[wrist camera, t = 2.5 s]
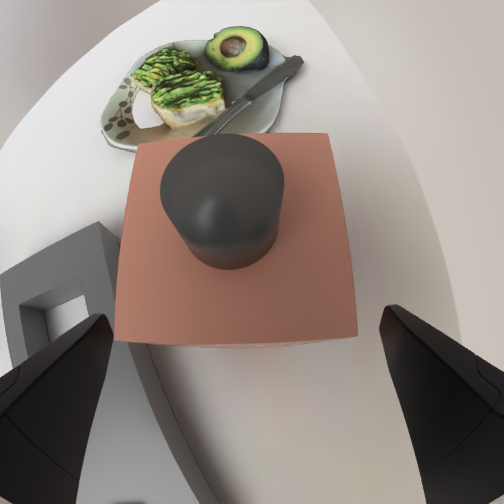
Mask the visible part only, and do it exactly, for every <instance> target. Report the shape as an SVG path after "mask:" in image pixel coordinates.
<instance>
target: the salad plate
mask: <svg viewBox="0 0 504 504" xmlns="http://www.w3.org/2000/svg"><path fill="white" fill-rule="evenodd" d="M303 63H304V61H303V60H302V58H301V56H295V55H294V56H292V57H285V56H283V55H282V54H281V53H280V52H279V51H278V50H276V49H275V48H273V47H271V46H268V43H267V40H266V39H265V38H264V36H263V35H262V34H261V33H260V32H259V31H257V30H255V29H252V28H250V27H243V26H236V27H228V28H224V29H223V30H221V31H220V32H218V33H215V34H214V39H211V40H185V41H177V42H172V43H168V44H165V45H163V46H160V47H158V48H156V49H154V50H152V51H150V52H149V53H146V54H145V55H144V56H143V57H141V58H140V59H139V60H138V61H137V62H136V63H135V64H134V66H133V67H132V68H131V70H130V71H129V72H128V74H127V76H126V77H125V78H124V80H123V82H122V83H121V85H120V86H119V87H118V89H117V91H116V92H115V94H114V95H113V96H112V97H111V100H110V101H109V103H108V105H107V106H106V108H105V110H104V112H103V114H102V116H101V121H100V123H101V132H102V133H103V135H104V137H105V139H106V141H107V143H108V144H109V145H110V146H111V147H115V148H118V149H123V150H126V151H130V152H137V148H138V144H142V143H149V142H157V141H164V140H173V139H182V138H192V137H203V136H210V135H214V134H225V133H230V134H253V133H267V131H268V129H269V128H270V127H271V126H272V125H273V123H274V121H275V119H276V117H277V115H278V112H279V109H280V103H281V97H282V93H283V85H284V82H285V81H286V80H287V79H288V78H289V77H291V76H292V75H293V74H294V73H295V72H296V71H298V69H299V68H300V67H301V66H302V64H303ZM141 89H142V90H144V91H145V92H147V93H149V94H151V105H152V108H153V109H154V110H155V111H156V113H157V114H158V115H159V116H160V117H161V119H162V120H163V122H164V123H163V124H162V125H160V126H155V127H152V128H144V129H140V128H139V127H138V126H137V125H136V123H135V122H134V119H133V115H132V107H133V103H134V100H135V98H136V96H137V94H138V92H139V91H140V90H141ZM234 100H237V101H236V102H235V103H234V104H233V105H232V104H230V103H231V102H232V101H234Z"/></svg>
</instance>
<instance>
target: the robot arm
mask: <svg viewBox="0 0 504 504" xmlns="http://www.w3.org/2000/svg"><path fill="white" fill-rule="evenodd" d="M379 331H380V336H381V339H382V343H383V348H384V352H385V356H386V360H387V365H388V368H389V372H390V375H391V378H392V381H393V384H394V387H395V390H396V393H397V396H398V399H399V402H400V405H401V408H402V411H403V414H404V418H405V421H406V424H407V428H408V431H409V434H410V438H411V441H412V445H413V449H414V452H415V456H416V460H417V464H418V468H419V472H420V476H421V478H422V479H421V481H422V485H423V489H424V494H425V499H426V503H427V504H504V372H503V371H501V370H499V369H498V368H496V367H495V366H493V365H491V364H490V363H488V362H487V361H485V360H483V359H482V358H481V357H479V356H477V355H475V353H473V352H471V351H470V350H468V349H467V348H465V347H464V346H462V345H461V344H459V343H458V342H456V341H455V340H453V339H452V338H450V337H448V336H447V335H445V334H444V333H442V332H441V331H439V330H437V329H436V328H434V327H433V326H431V325H430V324H428V323H426V322H425V321H423V320H422V319H420V318H418V317H417V316H415V315H414V314H412V313H410V312H409V311H407V310H406V309H404V308H402V307H401V306H399V305H397V304H394V305H387V306H385V308H384V311H383V314H382V318H381V322H380V326H379ZM113 340H114V334H113V331H112V328H111V326H110V323H109V320H108V318H107V316H106V315H105V314H101V313H94V314H92V315H91V316H89V317H88V318H86V319H85V320H83V321H82V322H80V323H79V324H77V325H76V326H74V327H73V328H71V329H70V330H68V331H67V332H65V333H64V334H62V335H61V336H60V337H58V338H57V339H55V340H54V341H52V342H51V343H49V344H48V345H46V346H45V347H43V348H42V349H41V350H39V351H38V352H36V353H35V354H33V355H32V356H31V357H29V358H28V359H26V360H25V361H23V362H22V363H21V365H18V366H16V367H15V368H14V369H12V370H11V371H9V372H8V373H6V374H5V375H3V376H2V377H0V504H76V500H77V494H78V488H79V481H80V476H81V471H82V466H83V462H84V457H85V452H86V448H87V444H88V440H89V435H90V431H91V427H92V424H93V420H94V416H95V412H96V409H97V405H98V401H99V398H100V394H101V391H102V388H103V384H104V381H105V377H106V373H107V368H108V363H109V358H110V354H111V349H112V344H113Z"/></svg>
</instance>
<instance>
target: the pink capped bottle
mask: <svg viewBox="0 0 504 504" xmlns="http://www.w3.org/2000/svg"><path fill="white" fill-rule="evenodd" d="M356 336H358V326H357V314H356V302H355V292H354V283H353V274H352V266H351V258H350V250H349V243H348V236H347V230H346V224H345V217H344V211H343V206H342V200H341V194H340V189H339V184H338V179H337V174H336V169H335V164H334V159H333V155H332V150H331V146H330V141H329V137H328V134H325V133H253V134H230V133H225V134H214V135H210V136H203V137H192V138H182V139H173V140H164V141H157V142H149V143H142V144H138V148H137V152H136V157H135V161H134V166H133V171H132V176H131V181H130V186H129V192H128V197H127V203H126V209H125V216H124V223H123V230H122V237H121V245H120V254H119V264H118V274H117V287H116V302H115V324H114V340H116V341H125V342H134V343H145V344H156V345H170V346H185V347H206V348H243V347H272V346H290V345H299V344H307V343H315V342H322V341H330V340H337V339H343V338H350V337H356Z"/></svg>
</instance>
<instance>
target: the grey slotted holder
mask: <svg viewBox="0 0 504 504" xmlns="http://www.w3.org/2000/svg"><path fill="white" fill-rule="evenodd" d="M119 254H120V247H119V242H118V238H117V237H116V236H115V235H113V234H112V233H111V232H110V231H109V230H108V229H107V228H106V227H104V226H103V225H102V224H101V223H100V222H99V221H98V222H96V223H94V224H91V225H89V226H87V227H85V228H83V229H81V230H79V231H77V232H75V233H73V234H72V235H70V236H68V237H66V238H64V239H62V240H60V241H58V242H56V243H54V244H52V245H51V246H49V247H47V248H45V249H43V250H41V251H40V252H38V253H36V254H34V255H33V256H31V257H29V258H27V259H26V260H24V261H22V262H20V263H19V264H17V265H15V266H14V267H12V268H10V269H9V270H7V271H5V272H4V273H2V274H0V288H1V299H2V309H3V317H4V324H5V331H6V337H7V342H8V348H9V353H10V357H11V362H12V366H13V369H14V368H15V367H16V366H18V365H21V363H22V362H23V361H25V360H26V359H28V358H29V357H31V356H32V355H33V354H35V353H36V352H38V351H39V350H41V349H42V348H43V347H45V346H46V345H48V344H49V343H50V342H49V337H48V332H47V328H46V323H45V317H44V312H45V311H47V310H49V309H51V308H54V307H56V306H58V305H61V304H63V303H65V302H67V301H70V300H72V299H74V298H77V297H79V296H81V295H84V296H85V301H86V305H87V310H88V314H89V316H91V315H92V314H94V313H101V314H105V315H106V316H107V318H108V320H109V323H110V326H111V328H112V331H113V334H114V324H115V302H116V287H117V274H118V264H119ZM76 504H220V503H219V502H218V500H217V498H216V497H215V495H214V493H213V491H212V490H211V488H210V486H209V484H208V482H207V481H206V479H205V477H204V475H203V473H202V471H201V470H200V468H199V466H198V464H197V462H196V460H195V458H194V456H193V454H192V452H191V450H190V448H189V446H188V444H187V442H186V440H185V438H184V435H183V433H182V431H181V429H180V427H179V425H178V422H177V420H176V418H175V416H174V413H173V411H172V409H171V406H170V404H169V401H168V399H167V397H166V394H165V392H164V389H163V387H162V384H161V382H160V379H159V376H158V374H157V371H156V368H155V366H154V363H153V360H152V357H151V355H150V352H149V349H148V346H147V344H145V343H134V342H125V341H116V340H113V344H112V349H111V354H110V358H109V363H108V368H107V373H106V377H105V381H104V384H103V388H102V391H101V394H100V398H99V401H98V405H97V409H96V412H95V416H94V420H93V424H92V427H91V431H90V435H89V440H88V444H87V448H86V452H85V457H84V462H83V466H82V471H81V476H80V481H79V488H78V494H77V500H76Z"/></svg>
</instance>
